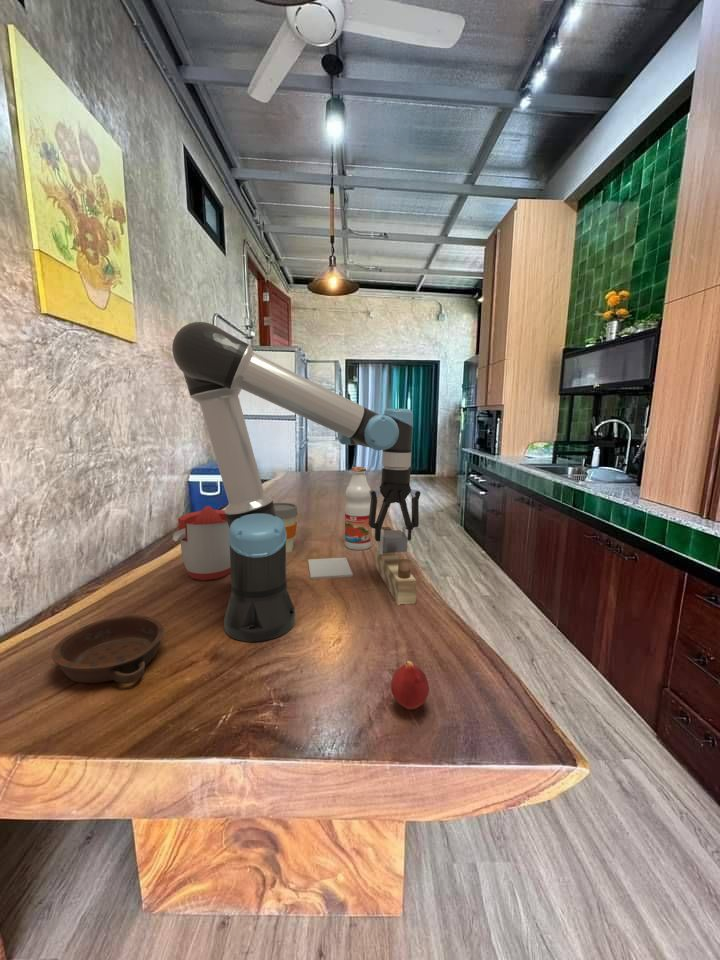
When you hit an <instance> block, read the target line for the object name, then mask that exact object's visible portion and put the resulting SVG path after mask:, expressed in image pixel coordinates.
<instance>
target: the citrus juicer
mask: <svg viewBox="0 0 720 960" xmlns="http://www.w3.org/2000/svg"><path fill="white" fill-rule="evenodd" d="M224 511H225V509H224V510H223V509H221V510H220V509H214V508H212V506H210V505H205V507H203V509H202V510H198V511H191V512H188V513H185V514H183V515H181V516H179V517H178V518H177V523H178V524H177V525H178V531H176V532H174V533H173V536H172V541H174V542H178V541H180V550H181V558H182V560H183V565H184V567H185V570H186V572H187V574H188V575H189V577H190V578H192V579H195V580H200V581H202V580H204V581H208V580H216V579H219V578H220V579H221V578H223V577H226V576H227V575H230V574H231V565H230V543H229V540H228V535H229V526H228V522H227V519H226V515H225V512H224Z"/></svg>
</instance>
